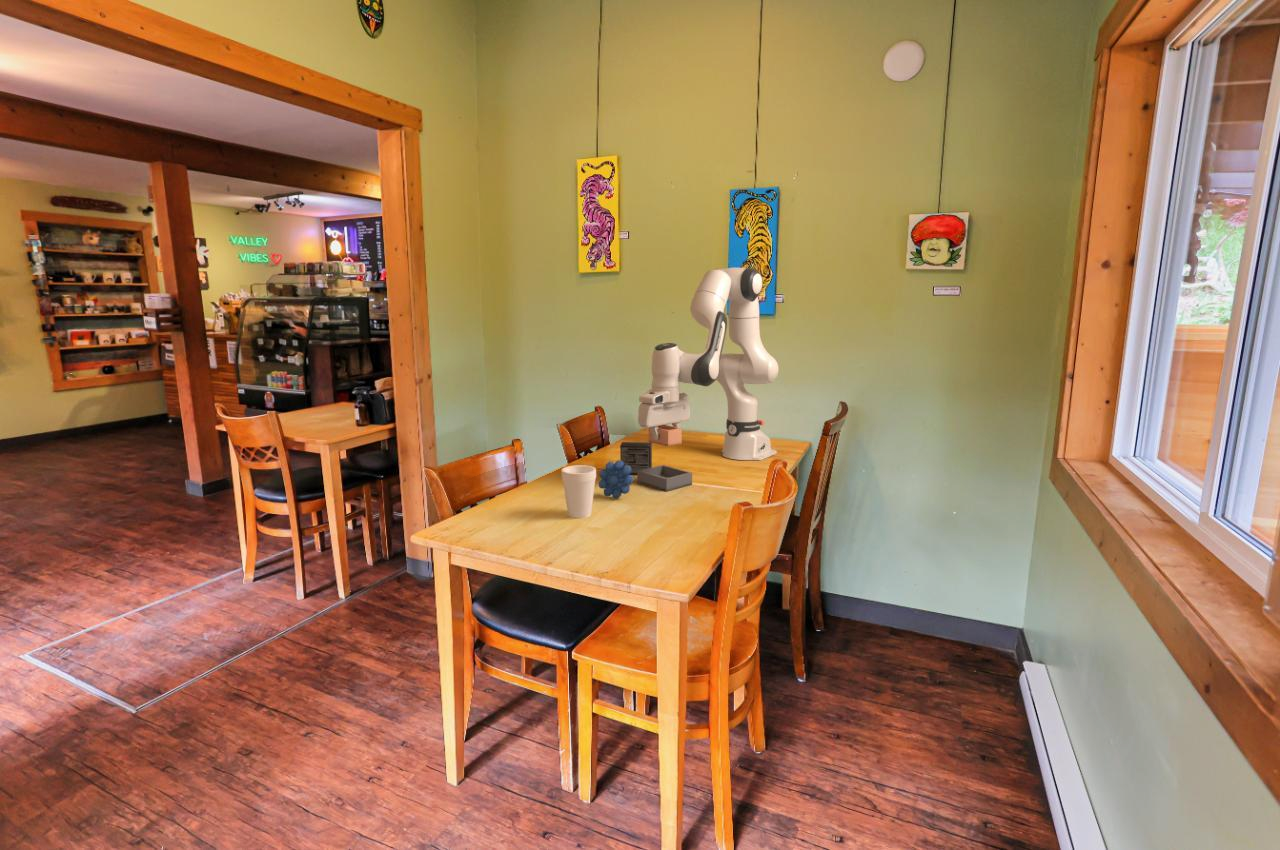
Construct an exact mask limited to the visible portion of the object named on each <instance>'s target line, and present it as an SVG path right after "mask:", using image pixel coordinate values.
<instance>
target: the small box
mask: <svg viewBox="0 0 1280 850" xmlns="http://www.w3.org/2000/svg"><path fill="white" fill-rule="evenodd" d="M652 444H653V443H652V442H649V441H647V442H641V441H638V442H637V441H636V442H634V441H633V442H631V441H622V442H621V443H620V446H619V447H620V455H619V456H620V459H619V460H621V461H623V463H624V466H626V465H628V466H630V467H631V473H630V474H629V475H632V476H637V471H639V470H643V469H647V468H651V467H653V462H652V461H653V457H652V456H653V454H652V452H653V451H652V450H653V449H652V448H653V447H652ZM624 466H623V467H624Z"/></svg>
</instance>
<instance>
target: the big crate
mask: <svg viewBox="0 0 1280 850" xmlns="http://www.w3.org/2000/svg"><path fill="white" fill-rule="evenodd" d="M636 477H637V478H636V479H637V481H636V482H637V484H640V485H644V486H647V487H650V488H652V489H653V488H654V489H657V490H660V491H663V492H666V493H667V492H670V491H674V490H678V489H681V488H684V487H688V486H691V485H693V472H690V471H688V470H684V469H680V468H676V467H673V466H669V465H665V464H660V465H656V466H652V467H651V468H647V469H643V470H639V471H637V475H636Z"/></svg>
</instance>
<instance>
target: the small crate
mask: <svg viewBox="0 0 1280 850" xmlns="http://www.w3.org/2000/svg"><path fill="white" fill-rule="evenodd" d="M682 430H683V428H681V427H673V425H669V424H666V425H660V426H658V429H657V432H658V434H660V439H658V440H654V439H653V433H652V431H651V429H650V427H649V428H648V442H649V443H652V444H655V445H656V444H657V445H660V446H666V447H672V446H677V445H681V444H682V443H683V442H682V441H683V440H682V438H683V437H682V434H683V431H682Z"/></svg>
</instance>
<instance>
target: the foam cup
mask: <svg viewBox="0 0 1280 850" xmlns="http://www.w3.org/2000/svg"><path fill="white" fill-rule="evenodd" d="M596 479H597V468H596V467H595V466H591V465H585V464H583V465H582V464H576V465H575V464H574V465H569V466H566V467H565V466H564V467H562V469H561V480H562V485H563V490H564V496H565V502H566V503H565V504H566V509H567V514H568V516H569V517H570V518H572V519H585V518H588V517H591V515H592V512H593V511H592V510H593V504H594V503H593V502H594V494H595V486H596V485H595V484H596Z"/></svg>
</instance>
